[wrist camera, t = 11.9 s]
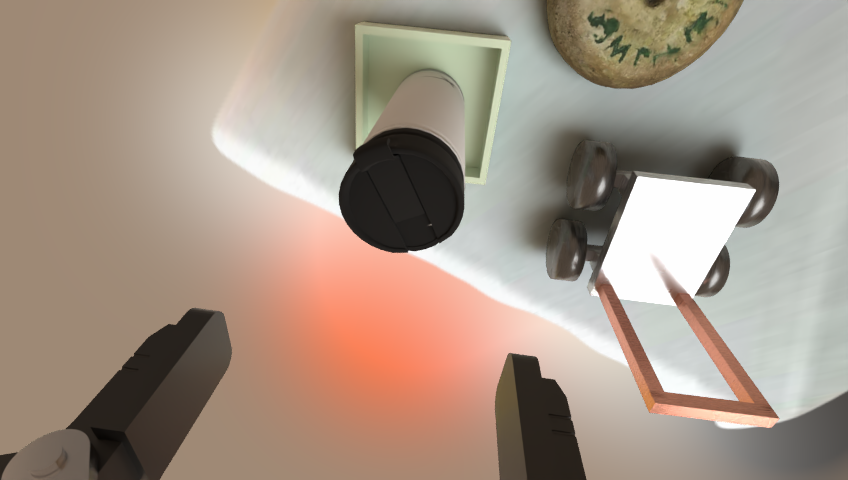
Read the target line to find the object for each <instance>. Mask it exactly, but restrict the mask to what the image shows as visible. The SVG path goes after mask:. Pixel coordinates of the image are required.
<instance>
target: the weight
mask: <svg viewBox="0 0 848 480" xmlns="http://www.w3.org/2000/svg"><path fill="white" fill-rule="evenodd" d="M742 3H743V0H547V17H548V25H549V31H550V34H551V37H552V40H553V43H554V45H555V47H556V48H557V50H558V52H559V53H560V54H561V56H562V57H563V59H564V60H565V61H566V62H567V63H568V64H569V65H570V66H571V67H572V68H573V69H574V70H575V71H576V72H577V73H578V74H579V75H581V76H582V77H584V78H585V79H587V80H589V81H591V82H593V83H595V84H598V85H601V86H605V87H611V88H629V89H633V88H639V87H644V86H648V85H652V84H655V83H657V82H660V81H662V80H665V79H667V78H669V77H671V76H673V75H674V74H676V73H678V72H680V71H681V70H683V69H684V68H686V67H687V66H689V65H690V64H691V63H693V62H694V61H695V60H697V59H698V58H699V57H701V56H702V55H703V54H704V53H705V52H706V51H707V50H708V49H709V48H710V47H711V46H712V45H713V44H714V42H715V41H716V40H717V39H718V38H719V37H720V36H721V35H722V34H723V33H724V32H725V30H726V29H727V27H728V26H729V24H730V23H731V22H732V20H733V19H734V17H735V16H736V14H737V12H738V10H739V8H740V7H741V5H742Z"/></svg>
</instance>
